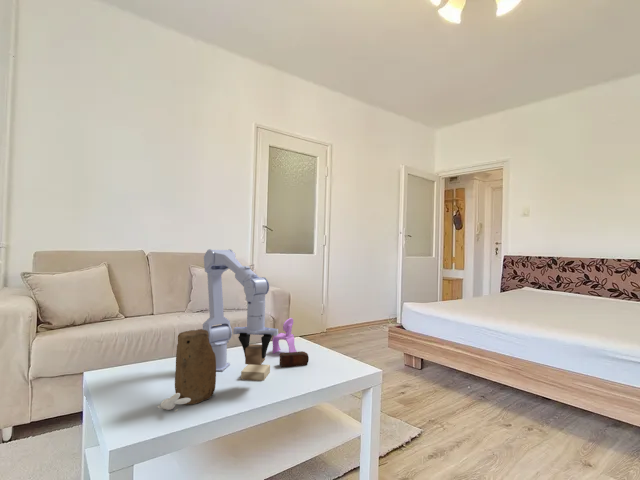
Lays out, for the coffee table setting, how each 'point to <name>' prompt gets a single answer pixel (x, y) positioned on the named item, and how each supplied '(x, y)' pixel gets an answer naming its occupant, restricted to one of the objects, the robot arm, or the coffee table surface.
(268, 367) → the oak base
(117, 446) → the coffee table surface
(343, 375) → the coffee table surface
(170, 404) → the rabbit figurine
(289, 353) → the brick
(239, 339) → the robot arm
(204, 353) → the brown rounded upright slab
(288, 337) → the toy chair
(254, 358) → the walnut cube
